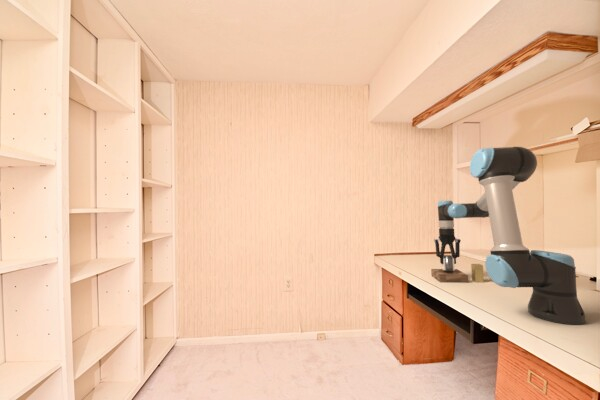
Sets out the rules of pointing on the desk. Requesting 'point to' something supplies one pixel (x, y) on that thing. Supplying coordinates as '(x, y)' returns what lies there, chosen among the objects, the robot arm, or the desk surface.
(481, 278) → the square bit
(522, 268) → the robot arm
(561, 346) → the desk surface
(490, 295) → the desk surface
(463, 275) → the socket block
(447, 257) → the round bit
